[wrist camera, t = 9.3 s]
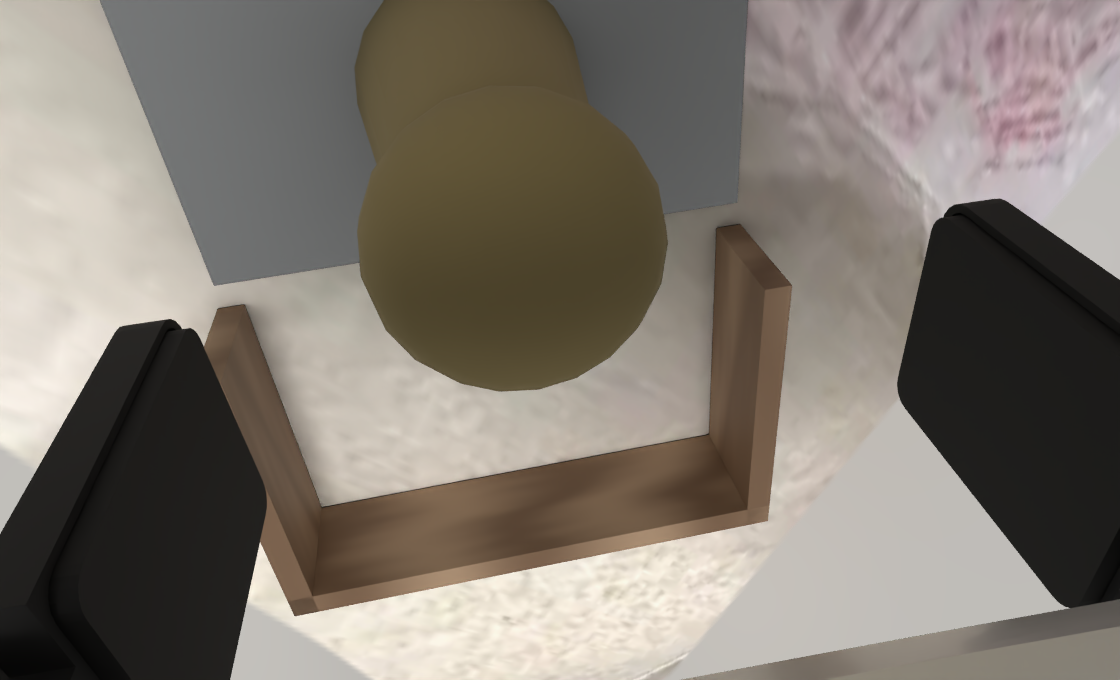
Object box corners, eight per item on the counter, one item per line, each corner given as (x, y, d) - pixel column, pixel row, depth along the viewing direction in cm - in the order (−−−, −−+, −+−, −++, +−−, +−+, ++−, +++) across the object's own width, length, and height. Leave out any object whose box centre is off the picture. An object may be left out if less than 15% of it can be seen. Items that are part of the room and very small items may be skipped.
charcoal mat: (749, -135, 19) (755, -134, 19) (732, 197, 24) (737, 202, 24) (83, -58, 18) (77, -55, 17) (216, 279, 23) (213, 285, 23)
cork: (414, -87, 18) (436, 8, 9) (622, 41, 21) (796, 213, 12) (318, 135, 21) (261, 379, 12) (513, 225, 23) (589, 483, 14)
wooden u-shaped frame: (740, 224, 25) (791, 285, 22) (727, 445, 31) (767, 520, 27) (217, 309, 23) (189, 388, 20) (305, 526, 29) (294, 616, 26)
